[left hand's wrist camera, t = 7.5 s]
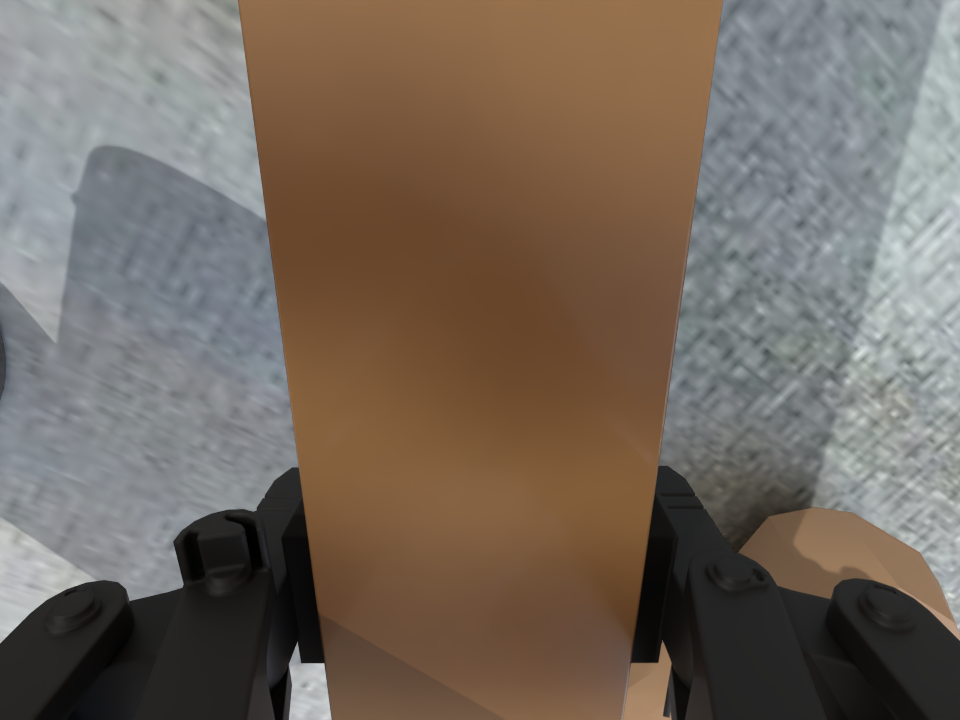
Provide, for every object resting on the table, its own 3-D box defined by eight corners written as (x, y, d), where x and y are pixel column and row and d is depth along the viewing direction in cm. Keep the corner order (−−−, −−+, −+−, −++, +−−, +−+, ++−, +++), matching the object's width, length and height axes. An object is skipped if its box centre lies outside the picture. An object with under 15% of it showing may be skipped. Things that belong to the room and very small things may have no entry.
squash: (915, 533, 31) (1064, 695, 24) (659, 678, 39) (709, 835, 31) (817, 451, 27) (959, 614, 20) (554, 631, 35) (583, 797, 27)
